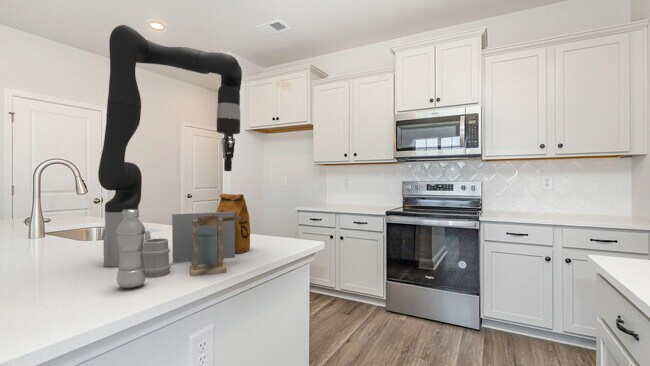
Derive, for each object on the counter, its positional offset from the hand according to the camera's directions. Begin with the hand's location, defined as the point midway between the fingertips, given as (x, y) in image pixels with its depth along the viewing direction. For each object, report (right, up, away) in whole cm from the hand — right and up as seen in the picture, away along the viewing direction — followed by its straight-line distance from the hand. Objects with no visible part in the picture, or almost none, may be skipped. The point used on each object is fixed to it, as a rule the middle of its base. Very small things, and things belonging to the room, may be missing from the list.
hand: (227, 171), depth 106 cm
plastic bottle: (-18, -31, -23) cm, 43 cm away
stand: (-3, -31, -9) cm, 32 cm away
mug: (-19, -31, -11) cm, 38 cm away
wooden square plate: (0, -16, -8) cm, 18 cm away
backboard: (-9, -30, +4) cm, 32 cm away
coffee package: (-3, -30, +17) cm, 35 cm away
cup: (-7, -30, -1) cm, 31 cm away
